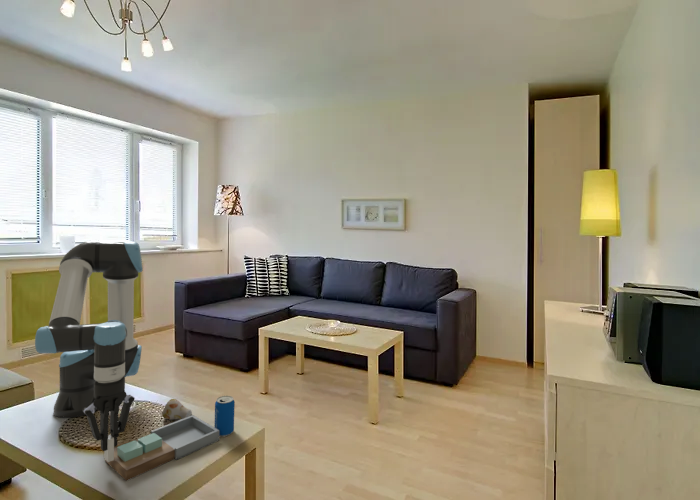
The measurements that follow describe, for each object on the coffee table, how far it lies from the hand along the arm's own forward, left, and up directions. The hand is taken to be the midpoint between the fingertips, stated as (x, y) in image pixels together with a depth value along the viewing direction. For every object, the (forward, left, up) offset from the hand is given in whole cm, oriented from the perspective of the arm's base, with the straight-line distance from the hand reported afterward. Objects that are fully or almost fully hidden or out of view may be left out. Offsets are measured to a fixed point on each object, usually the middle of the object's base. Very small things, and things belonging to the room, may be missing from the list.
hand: (109, 459), depth 113 cm
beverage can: (+5, +35, -4) cm, 35 cm away
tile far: (0, +11, -1) cm, 12 cm away
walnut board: (0, +9, -4) cm, 10 cm away
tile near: (0, +6, -1) cm, 6 cm away
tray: (0, +23, -4) cm, 24 cm away
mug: (-16, +30, -5) cm, 34 cm away
